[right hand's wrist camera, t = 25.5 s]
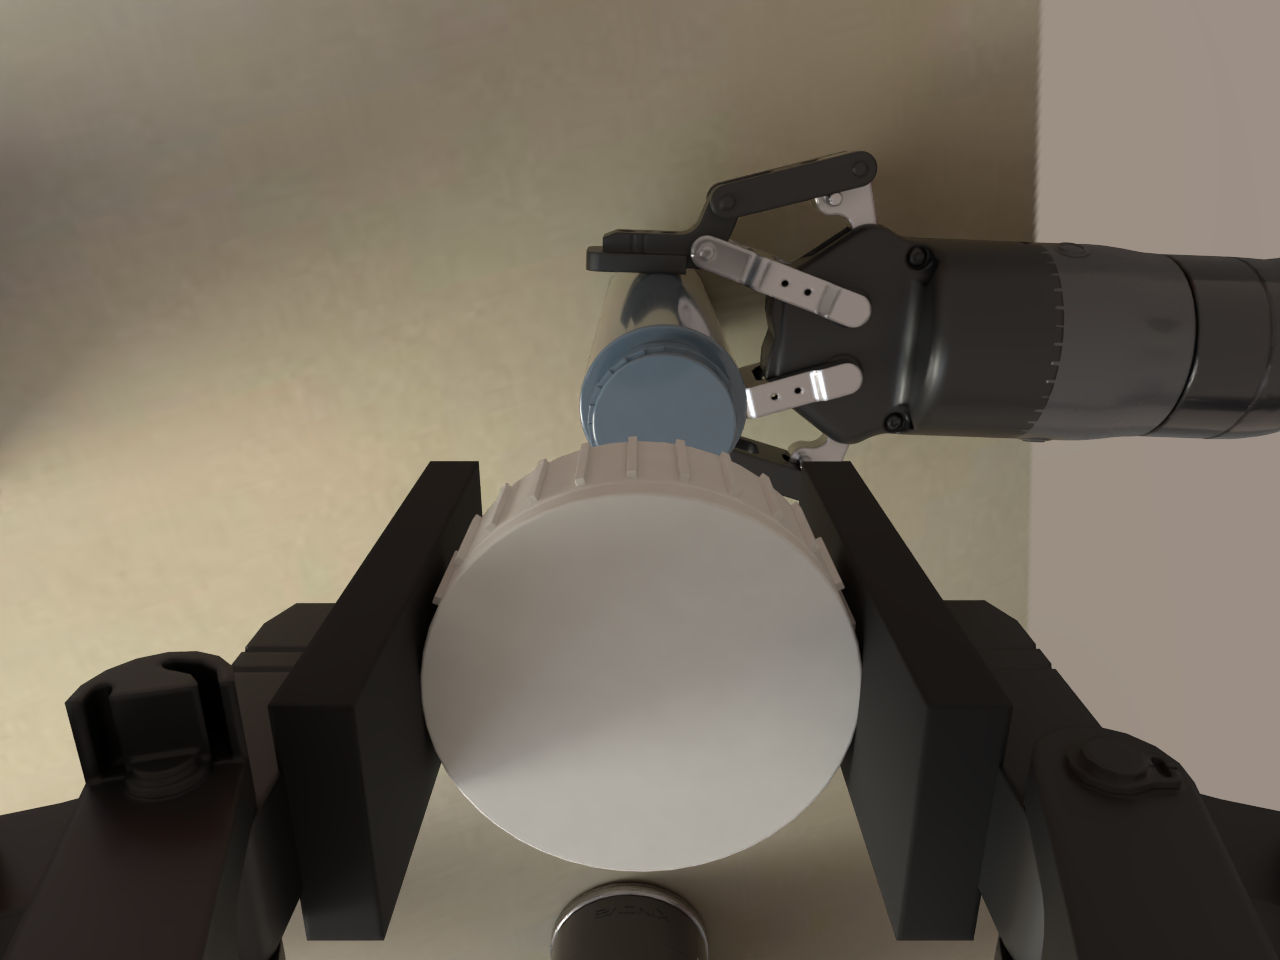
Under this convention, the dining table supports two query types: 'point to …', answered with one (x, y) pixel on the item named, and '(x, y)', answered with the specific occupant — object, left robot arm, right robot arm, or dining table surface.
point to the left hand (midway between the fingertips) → (588, 325)
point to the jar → (662, 367)
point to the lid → (641, 659)
